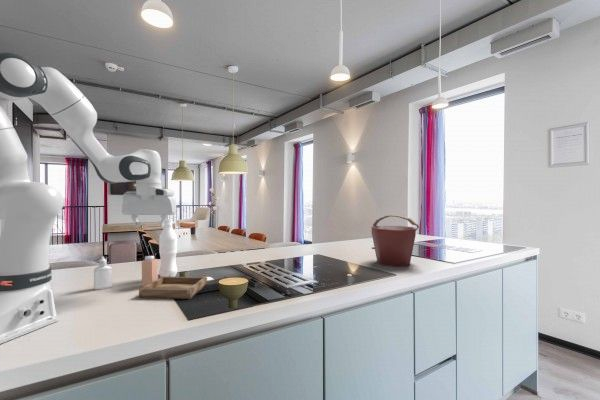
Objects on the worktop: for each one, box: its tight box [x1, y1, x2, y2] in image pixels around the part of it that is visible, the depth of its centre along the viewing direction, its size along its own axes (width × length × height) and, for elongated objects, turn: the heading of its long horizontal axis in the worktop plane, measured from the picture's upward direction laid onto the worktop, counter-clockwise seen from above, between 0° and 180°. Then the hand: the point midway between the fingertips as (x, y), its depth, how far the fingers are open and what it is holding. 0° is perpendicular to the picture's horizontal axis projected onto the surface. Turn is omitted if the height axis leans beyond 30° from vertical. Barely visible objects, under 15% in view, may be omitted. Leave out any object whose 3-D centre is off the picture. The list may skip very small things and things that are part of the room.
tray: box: [138, 276, 208, 300], centre depth 110 cm, size 16×18×3 cm
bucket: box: [371, 214, 420, 268], centre depth 156 cm, size 24×22×25 cm
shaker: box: [141, 255, 158, 288], centre depth 117 cm, size 4×4×11 cm
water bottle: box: [158, 218, 178, 278], centre depth 128 cm, size 7×7×25 cm
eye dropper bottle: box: [93, 256, 113, 291], centre depth 114 cm, size 4×6×12 cm
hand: (149, 226), depth 117 cm, fingers open, 8 cm apart
